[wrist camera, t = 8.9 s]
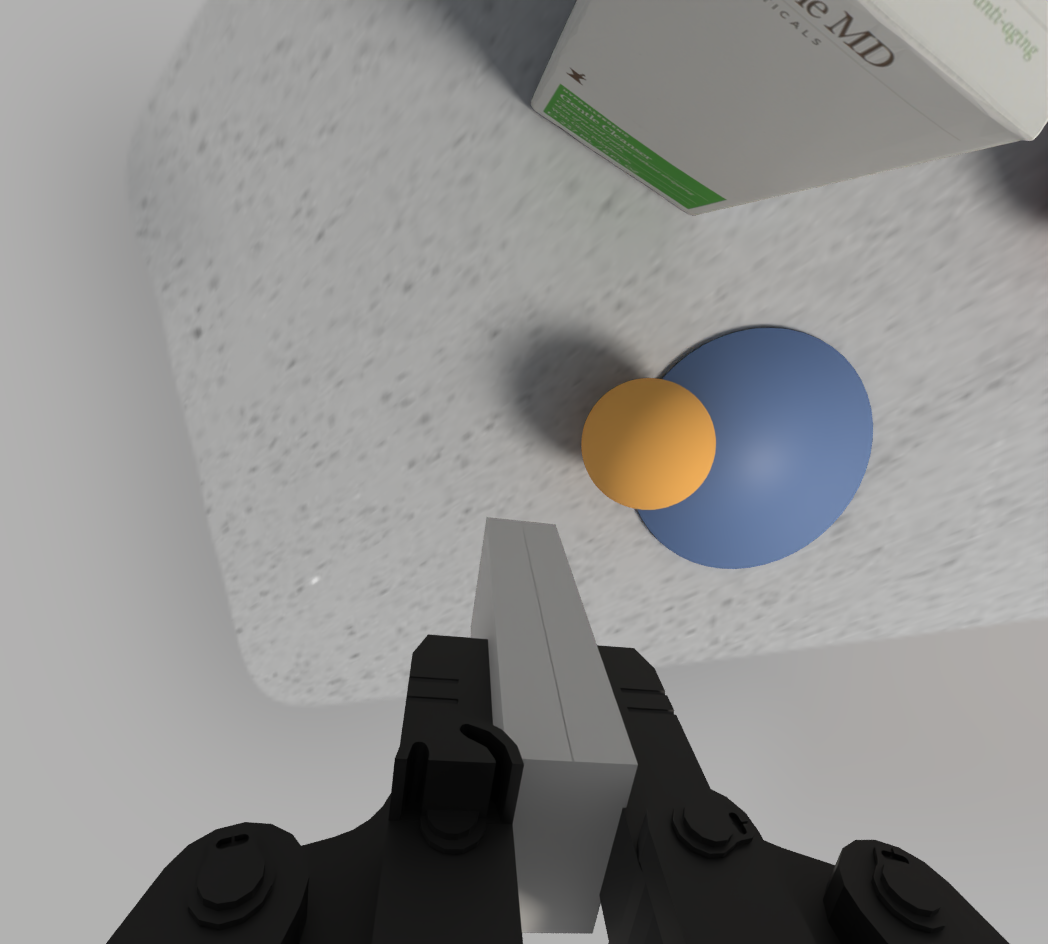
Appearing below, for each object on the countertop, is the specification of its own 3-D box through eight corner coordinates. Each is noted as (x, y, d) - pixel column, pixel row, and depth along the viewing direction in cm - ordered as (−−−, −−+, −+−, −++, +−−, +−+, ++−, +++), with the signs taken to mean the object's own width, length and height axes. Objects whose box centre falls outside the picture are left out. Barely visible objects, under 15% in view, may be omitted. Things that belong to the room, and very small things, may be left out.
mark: (905, 347, 28) (908, 348, 27) (825, 576, 31) (828, 578, 31) (659, 308, 26) (660, 308, 26) (605, 555, 30) (606, 557, 29)
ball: (553, 379, 25) (635, 376, 28) (554, 508, 26) (633, 489, 29) (666, 380, 21) (744, 376, 24) (662, 533, 22) (738, 507, 25)
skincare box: (525, 107, 23) (637, -178, 8) (615, -74, 21) (951, -826, 7) (698, 224, 25) (1036, 161, 10) (792, 66, 23) (1350, -275, 9)
